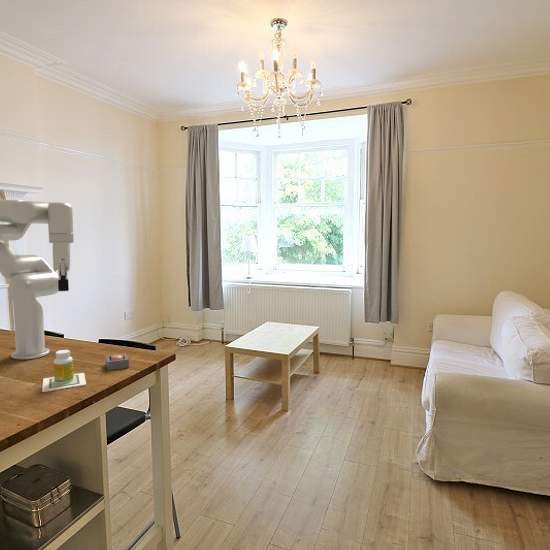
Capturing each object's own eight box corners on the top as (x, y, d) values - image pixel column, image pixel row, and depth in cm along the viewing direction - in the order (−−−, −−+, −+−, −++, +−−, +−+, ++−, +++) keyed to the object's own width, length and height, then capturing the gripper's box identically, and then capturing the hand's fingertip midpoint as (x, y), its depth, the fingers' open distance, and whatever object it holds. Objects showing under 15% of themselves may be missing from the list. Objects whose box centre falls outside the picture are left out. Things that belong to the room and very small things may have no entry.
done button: (110, 362, 144) (110, 355, 143) (122, 360, 145) (122, 354, 145) (112, 365, 140) (111, 359, 140) (124, 364, 142) (123, 357, 142)
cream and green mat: (43, 379, 129) (43, 378, 129) (84, 373, 135) (84, 372, 135) (42, 392, 119) (42, 390, 119) (86, 385, 125) (86, 383, 125)
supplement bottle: (65, 384, 124) (64, 354, 123) (50, 383, 125) (49, 353, 124) (77, 378, 129) (76, 349, 128) (63, 377, 130) (61, 348, 129)
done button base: (105, 364, 144) (105, 356, 144) (126, 361, 148) (126, 353, 147) (108, 370, 138) (107, 362, 138) (129, 367, 141) (128, 359, 141)
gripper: (49, 237, 142) (51, 288, 145) (48, 239, 129) (51, 294, 132) (72, 238, 146) (74, 287, 148) (74, 239, 133) (76, 293, 135)
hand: (63, 290), depth 140 cm, fingers closed
